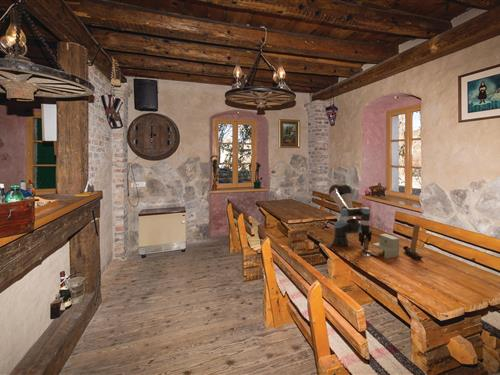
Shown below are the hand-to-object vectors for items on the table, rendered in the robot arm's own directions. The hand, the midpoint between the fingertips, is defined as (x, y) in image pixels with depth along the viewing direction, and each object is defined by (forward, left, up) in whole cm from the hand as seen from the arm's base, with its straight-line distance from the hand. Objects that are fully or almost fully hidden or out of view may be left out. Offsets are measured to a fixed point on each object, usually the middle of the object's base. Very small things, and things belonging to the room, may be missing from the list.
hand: (364, 248), depth 249 cm
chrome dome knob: (+10, -6, -2) cm, 12 cm away
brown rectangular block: (+7, 0, -1) cm, 7 cm away
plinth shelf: (+13, +11, -2) cm, 17 cm away
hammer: (+25, +29, -2) cm, 38 cm away
